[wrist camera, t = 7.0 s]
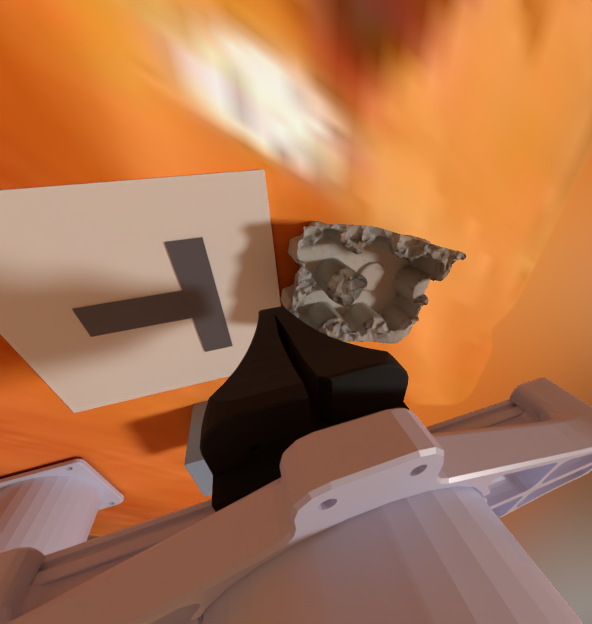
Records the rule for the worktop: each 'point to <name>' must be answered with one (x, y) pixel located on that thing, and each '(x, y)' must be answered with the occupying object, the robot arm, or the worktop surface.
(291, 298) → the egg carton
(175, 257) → the letter mat
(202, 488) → the cube
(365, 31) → the worktop surface
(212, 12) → the worktop surface
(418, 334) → the worktop surface
